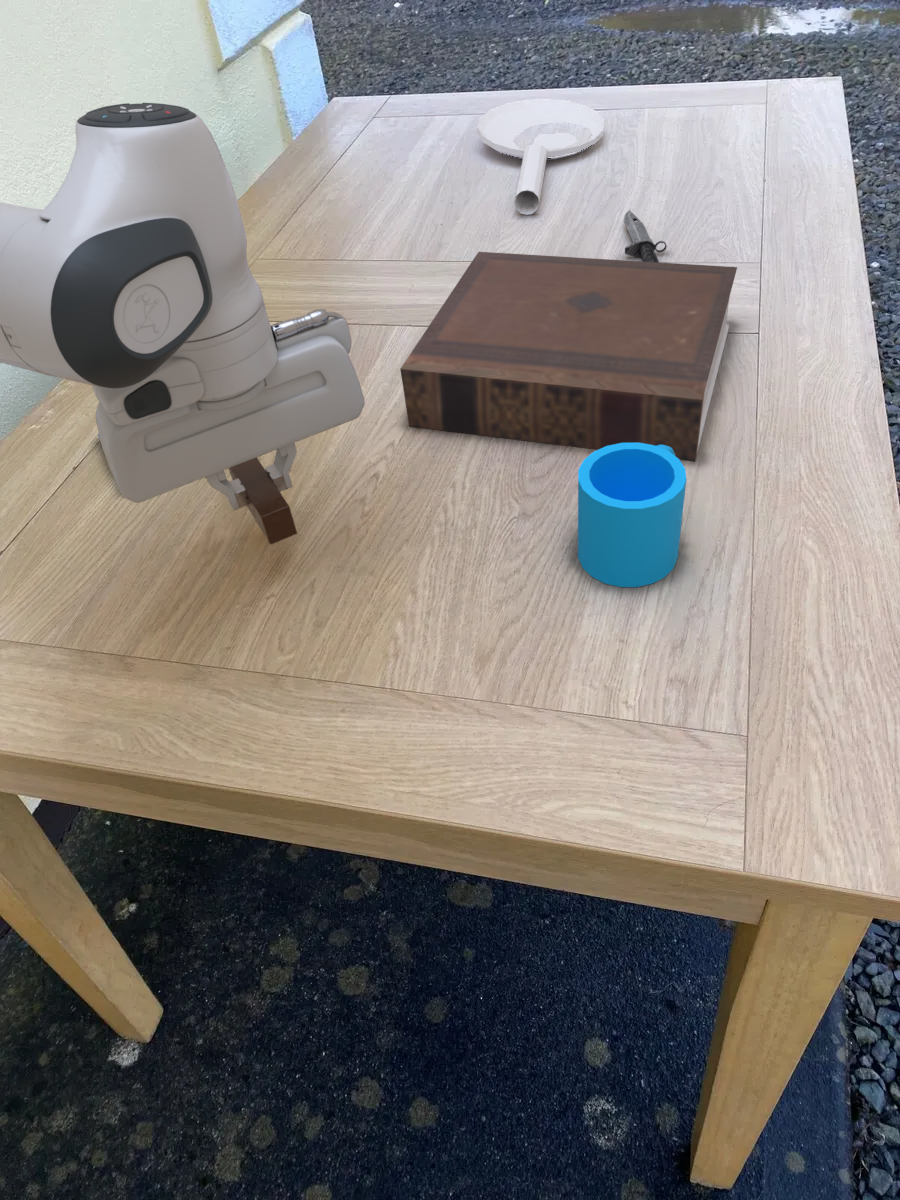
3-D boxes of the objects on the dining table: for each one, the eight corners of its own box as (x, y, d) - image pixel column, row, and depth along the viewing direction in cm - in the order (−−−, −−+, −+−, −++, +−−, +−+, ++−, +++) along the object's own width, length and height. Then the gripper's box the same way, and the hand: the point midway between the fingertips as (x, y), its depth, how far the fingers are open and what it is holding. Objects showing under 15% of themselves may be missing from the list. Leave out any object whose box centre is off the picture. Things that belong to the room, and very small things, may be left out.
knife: (609, 204, 117) (648, 200, 117) (609, 220, 119) (647, 215, 118) (637, 273, 104) (681, 267, 104) (637, 289, 106) (680, 284, 106)
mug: (651, 600, 71) (658, 521, 65) (559, 567, 75) (558, 489, 69) (711, 511, 78) (723, 432, 72) (624, 484, 81) (628, 407, 76)
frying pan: (596, 226, 122) (599, 192, 119) (457, 221, 124) (455, 188, 121) (604, 119, 145) (606, 87, 141) (485, 116, 147) (485, 86, 143)
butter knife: (270, 545, 73) (261, 517, 71) (198, 426, 86) (188, 400, 84) (297, 534, 74) (289, 505, 72) (222, 418, 87) (213, 391, 85)
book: (695, 461, 83) (702, 399, 78) (409, 426, 91) (400, 368, 86) (729, 325, 98) (737, 267, 94) (482, 305, 106) (478, 251, 102)
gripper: (327, 285, 70) (358, 432, 80) (65, 374, 65) (133, 520, 75) (360, 317, 66) (388, 468, 76) (84, 416, 61) (153, 565, 71)
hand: (260, 495), depth 75 cm, fingers closed on butter knife, 2 cm apart
